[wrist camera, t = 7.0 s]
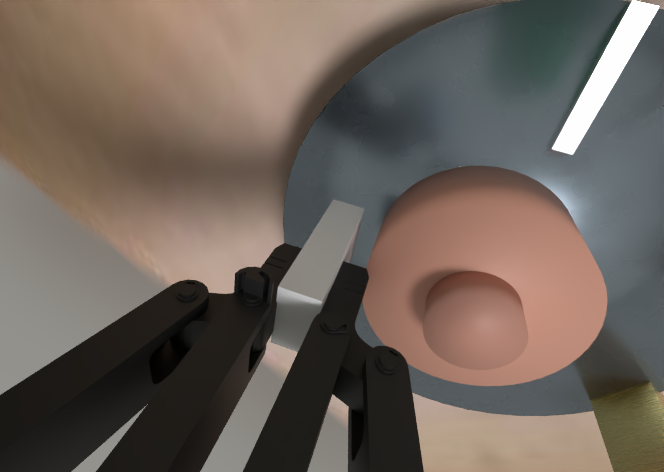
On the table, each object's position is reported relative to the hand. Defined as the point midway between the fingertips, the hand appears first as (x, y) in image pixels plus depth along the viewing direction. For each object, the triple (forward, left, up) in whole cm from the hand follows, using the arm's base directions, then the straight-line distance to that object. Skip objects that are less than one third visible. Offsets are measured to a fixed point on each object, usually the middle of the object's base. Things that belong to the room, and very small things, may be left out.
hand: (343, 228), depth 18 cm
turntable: (+8, 0, -3) cm, 9 cm away
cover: (+6, 0, -1) cm, 6 cm away
